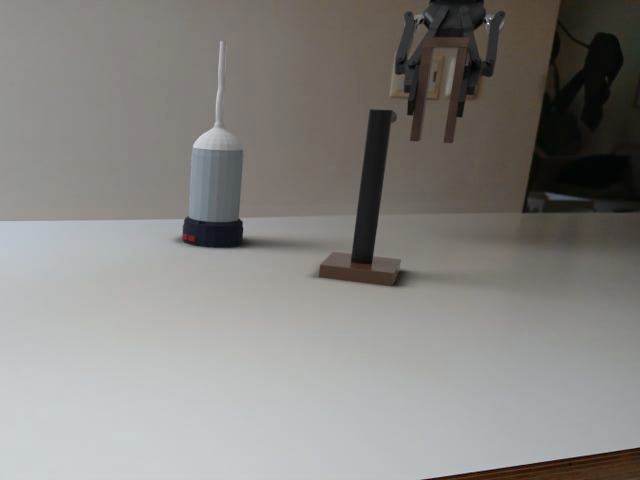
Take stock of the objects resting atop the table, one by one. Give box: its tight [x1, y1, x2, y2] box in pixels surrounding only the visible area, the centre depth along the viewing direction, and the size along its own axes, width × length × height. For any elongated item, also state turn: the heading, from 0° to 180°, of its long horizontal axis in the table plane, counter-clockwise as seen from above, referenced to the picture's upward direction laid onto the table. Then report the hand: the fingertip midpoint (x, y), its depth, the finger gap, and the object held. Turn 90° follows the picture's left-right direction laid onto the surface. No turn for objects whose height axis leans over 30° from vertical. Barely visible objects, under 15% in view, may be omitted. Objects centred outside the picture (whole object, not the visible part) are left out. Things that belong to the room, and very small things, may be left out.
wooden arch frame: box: [409, 36, 470, 144], centre depth 101 cm, size 6×4×13 cm
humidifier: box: [182, 40, 244, 249], centre depth 96 cm, size 8×8×25 cm
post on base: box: [318, 108, 402, 287], centre depth 85 cm, size 8×14×18 cm, turn 157°
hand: (435, 108), depth 98 cm, fingers closed on wooden arch frame, 6 cm apart
